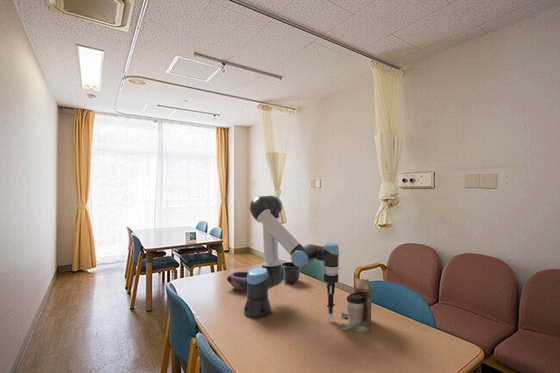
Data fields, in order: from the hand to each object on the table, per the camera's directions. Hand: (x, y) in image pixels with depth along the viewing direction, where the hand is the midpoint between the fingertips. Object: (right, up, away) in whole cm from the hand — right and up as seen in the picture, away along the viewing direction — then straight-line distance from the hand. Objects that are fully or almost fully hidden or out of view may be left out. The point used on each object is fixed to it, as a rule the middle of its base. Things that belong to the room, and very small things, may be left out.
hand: (330, 318), depth 146 cm
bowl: (-52, -2, +48) cm, 71 cm away
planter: (-18, -2, +60) cm, 63 cm away
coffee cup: (+12, -2, -4) cm, 13 cm away
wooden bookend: (+11, -2, -3) cm, 12 cm away
